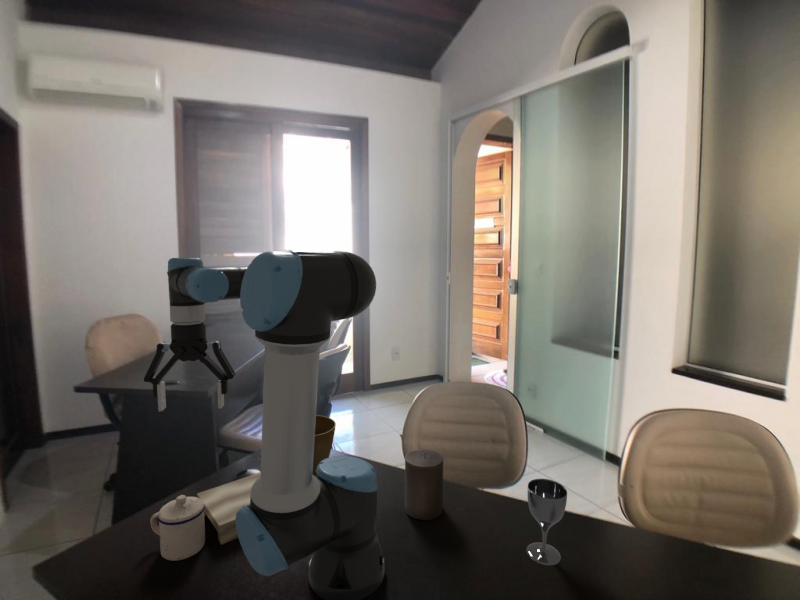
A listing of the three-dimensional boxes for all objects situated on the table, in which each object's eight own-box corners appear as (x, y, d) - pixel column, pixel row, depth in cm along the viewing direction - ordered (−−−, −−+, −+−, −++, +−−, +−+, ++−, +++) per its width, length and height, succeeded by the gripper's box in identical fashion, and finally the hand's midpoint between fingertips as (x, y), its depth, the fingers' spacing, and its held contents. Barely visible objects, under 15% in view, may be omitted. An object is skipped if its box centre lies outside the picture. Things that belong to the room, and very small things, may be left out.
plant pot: (299, 499, 112) (298, 440, 110) (272, 477, 123) (271, 423, 121) (346, 479, 122) (346, 425, 120) (317, 460, 133) (317, 410, 131)
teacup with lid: (214, 536, 97) (213, 487, 96) (189, 565, 88) (186, 512, 87) (166, 530, 99) (164, 482, 98) (136, 557, 90) (133, 505, 89)
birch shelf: (295, 514, 105) (295, 495, 105) (219, 547, 94) (219, 525, 93) (267, 487, 117) (267, 469, 117) (197, 512, 106) (196, 493, 105)
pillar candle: (449, 515, 106) (451, 457, 105) (414, 524, 102) (415, 464, 101) (430, 495, 115) (432, 441, 114) (397, 503, 111) (398, 447, 109)
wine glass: (537, 570, 88) (541, 501, 87) (517, 544, 96) (520, 481, 94) (571, 563, 90) (575, 496, 89) (548, 538, 98) (552, 476, 96)
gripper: (245, 319, 109) (248, 400, 111) (138, 320, 105) (143, 404, 107) (239, 323, 101) (242, 410, 104) (124, 325, 98) (129, 416, 100)
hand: (192, 408), depth 105 cm, fingers open, 13 cm apart
